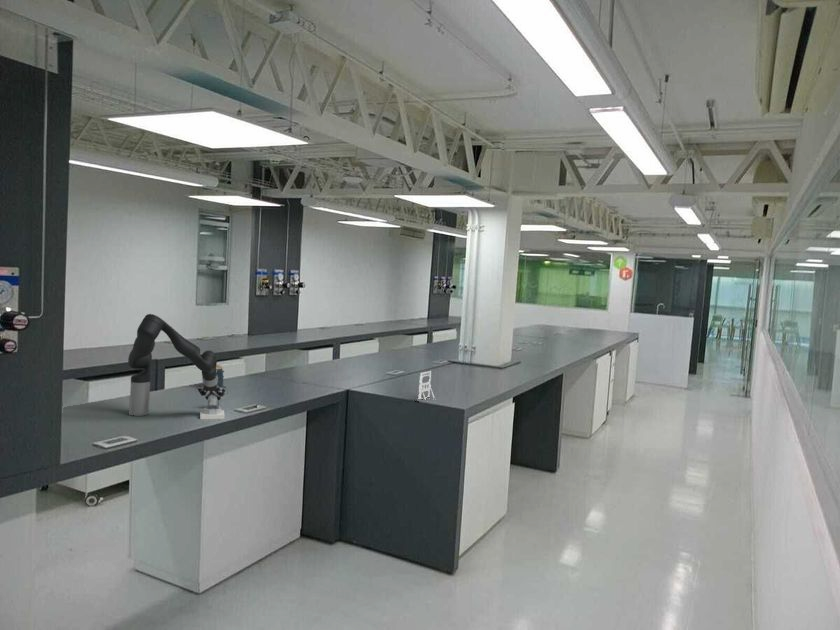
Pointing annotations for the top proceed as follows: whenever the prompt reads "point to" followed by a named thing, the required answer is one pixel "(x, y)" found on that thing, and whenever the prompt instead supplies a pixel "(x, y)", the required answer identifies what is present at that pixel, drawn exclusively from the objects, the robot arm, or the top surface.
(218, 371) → the canister
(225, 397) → the mechanical component
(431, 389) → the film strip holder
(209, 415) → the flange plate
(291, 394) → the top surface
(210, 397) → the clear glass jar
